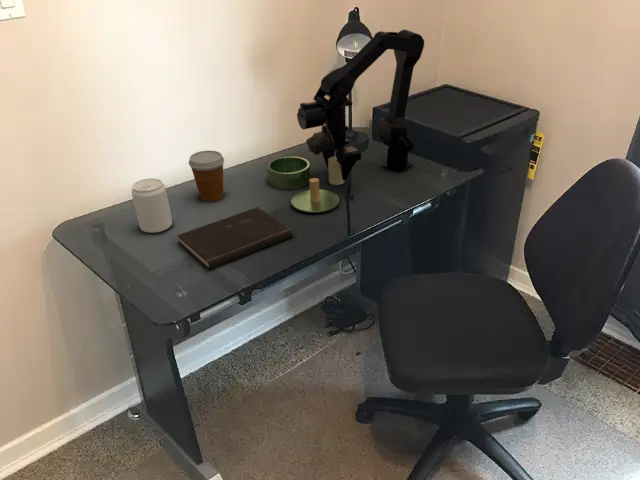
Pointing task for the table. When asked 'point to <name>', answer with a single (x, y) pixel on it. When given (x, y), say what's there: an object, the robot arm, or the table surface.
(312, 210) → the lid
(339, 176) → the candle
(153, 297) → the table surface
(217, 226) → the hardcover book
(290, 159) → the tin
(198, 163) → the disposable coffee cup
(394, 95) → the robot arm
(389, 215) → the table surface
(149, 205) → the beverage can
